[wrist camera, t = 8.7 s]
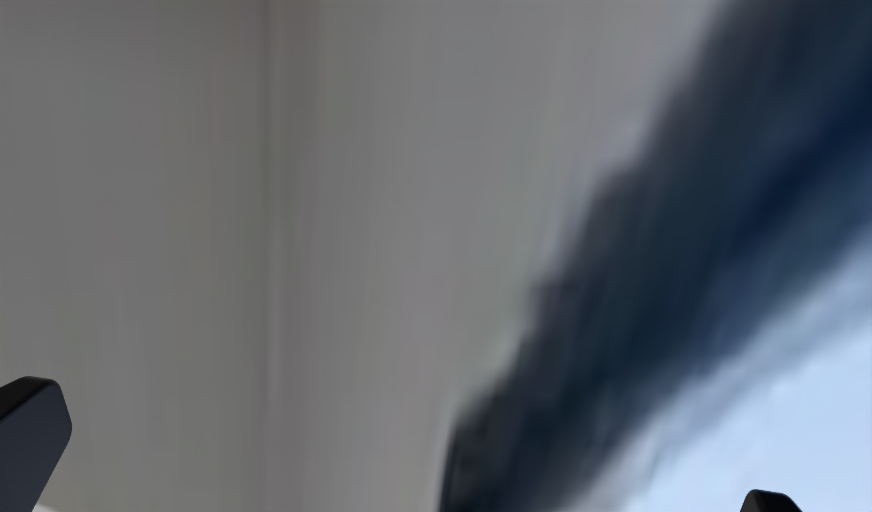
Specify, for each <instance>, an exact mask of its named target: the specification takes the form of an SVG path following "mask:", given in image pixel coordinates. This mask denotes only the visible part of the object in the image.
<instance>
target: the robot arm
mask: <svg viewBox="0 0 872 512" xmlns="http://www.w3.org/2000/svg"><path fill="white" fill-rule="evenodd" d="M71 431H72V423H71V419H70V416H69V412H68V409H67V406H66V403H65V400H64V397H63V393H62V390H61V387H60V385H59V384H58V383H57V382H56V381H54V380H52V379H46V378H40V377H33V376H25V377H22V378H19V379H17V380H15V381H13V382H11V383H9V384H7V385H4V386H2V387H0V512H32V510H33V508H34V506H35V504H36V503H37V501H38V499H39V497H40V495H41V493H42V491H43V489H44V487H45V486H46V484H47V482H48V480H49V478H50V476H51V474H52V472H53V470H54V469H55V467H56V465H57V463H58V461H59V459H60V457H61V455H62V453H63V451H64V450H65V448H66V446H67V444H68V442H69V439H70V436H71ZM740 512H802V510H801V509H800V508H799V507H798V506H797V505H796V503H795V502H794V501H793V500H792V499H791V498H790V497H788V496H787V495H785V494H783V493H777V492H771V491H765V490H758V489H754V490H751V491H750V492H749V493H748V494H747V496H746V498H745V500H744V503H743V505H742V508H741V510H740Z"/></svg>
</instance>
